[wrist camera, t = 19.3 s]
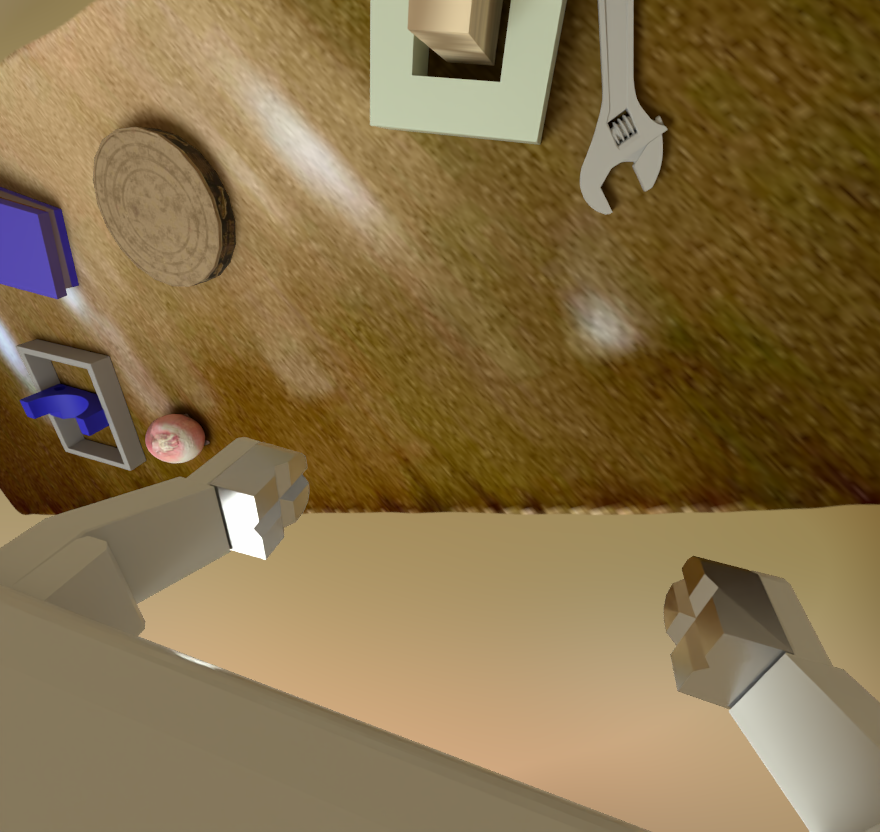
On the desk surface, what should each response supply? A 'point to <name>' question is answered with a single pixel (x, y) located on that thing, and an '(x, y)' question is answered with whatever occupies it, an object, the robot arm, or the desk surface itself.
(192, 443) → the onion
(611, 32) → the adjustable wrench
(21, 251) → the stapler
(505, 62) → the pale green square frame
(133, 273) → the desk surface
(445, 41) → the wooden block
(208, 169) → the wood slice
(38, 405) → the blue cradle holder
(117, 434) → the clip corral
